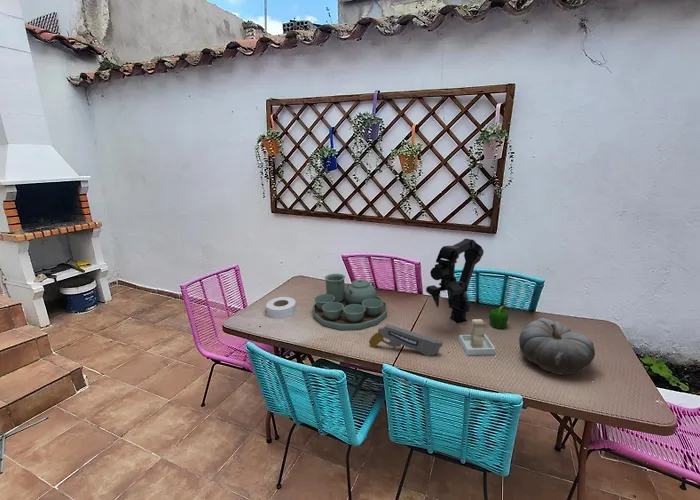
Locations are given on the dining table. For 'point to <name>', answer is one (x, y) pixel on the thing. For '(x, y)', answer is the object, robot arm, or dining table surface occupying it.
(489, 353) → the tray
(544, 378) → the dining table surface
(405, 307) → the dining table surface
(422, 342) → the gun
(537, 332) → the gourd
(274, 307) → the roll of tape
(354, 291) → the tea set
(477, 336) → the handle block
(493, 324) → the bell pepper
